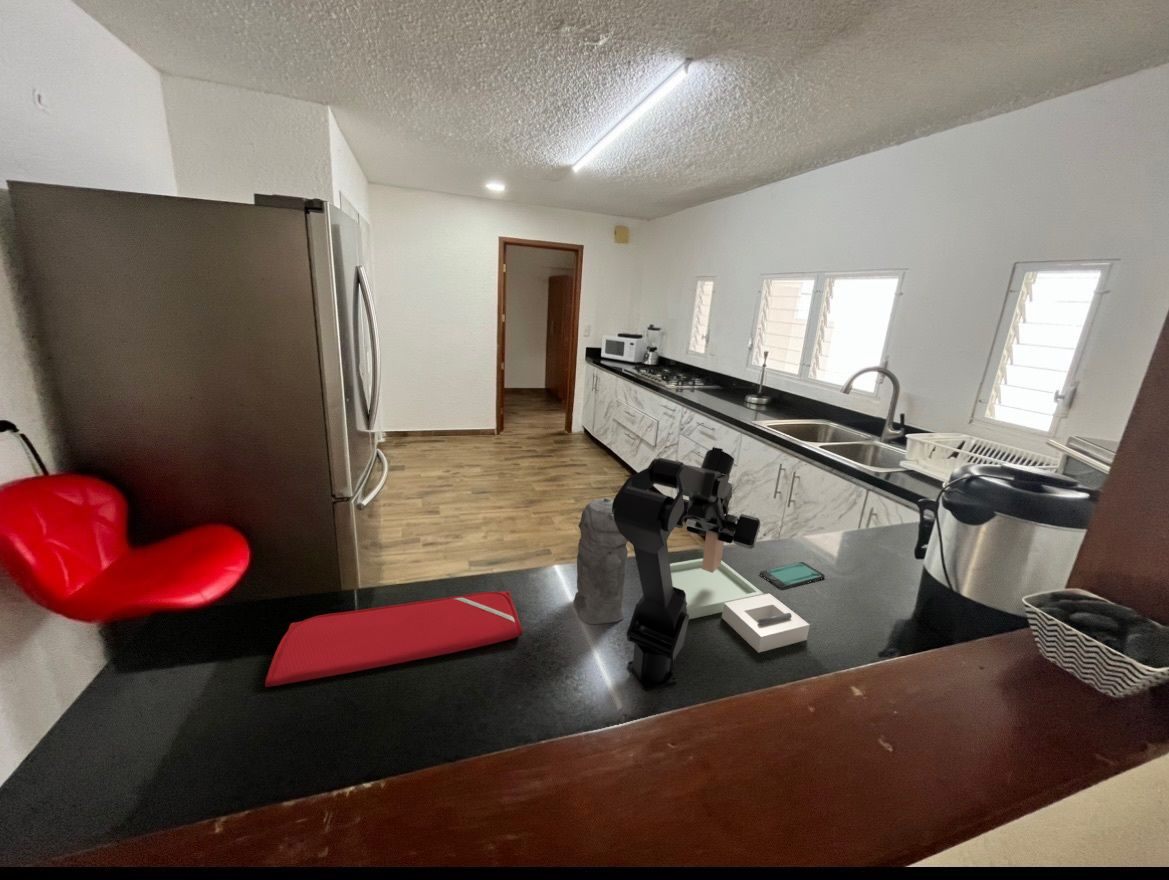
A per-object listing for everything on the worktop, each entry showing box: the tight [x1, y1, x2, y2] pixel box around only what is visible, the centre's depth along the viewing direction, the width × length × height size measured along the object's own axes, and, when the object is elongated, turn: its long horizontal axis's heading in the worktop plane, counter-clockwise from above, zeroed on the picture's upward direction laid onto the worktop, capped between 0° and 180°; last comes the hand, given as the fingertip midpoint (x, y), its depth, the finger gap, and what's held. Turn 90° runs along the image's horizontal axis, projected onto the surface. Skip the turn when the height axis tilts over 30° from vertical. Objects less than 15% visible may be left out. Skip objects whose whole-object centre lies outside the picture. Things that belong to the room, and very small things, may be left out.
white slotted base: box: [721, 593, 811, 653], centre depth 93 cm, size 12×11×4 cm
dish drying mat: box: [264, 590, 524, 688], centre depth 86 cm, size 16×41×4 cm, turn 109°
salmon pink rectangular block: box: [702, 531, 725, 573], centre depth 103 cm, size 5×2×11 cm, turn 143°
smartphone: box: [759, 561, 826, 590], centre depth 114 cm, size 7×1×15 cm
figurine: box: [572, 497, 629, 625], centre depth 94 cm, size 10×14×25 cm
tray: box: [670, 558, 765, 620], centre depth 106 cm, size 20×17×2 cm
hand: (716, 536), depth 104 cm, fingers closed on salmon pink rectangular block, 3 cm apart
